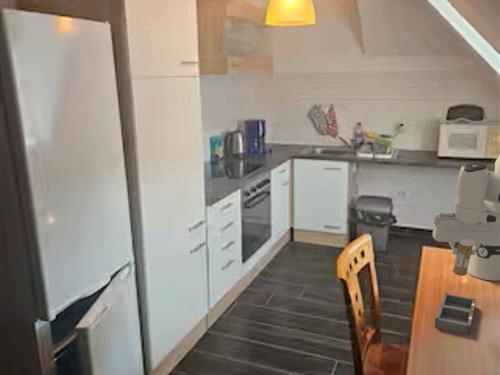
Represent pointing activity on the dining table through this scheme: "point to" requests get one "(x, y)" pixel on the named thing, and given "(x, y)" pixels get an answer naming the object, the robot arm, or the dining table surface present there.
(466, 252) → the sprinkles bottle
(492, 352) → the dining table surface
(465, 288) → the dining table surface
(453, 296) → the grey divided tray
